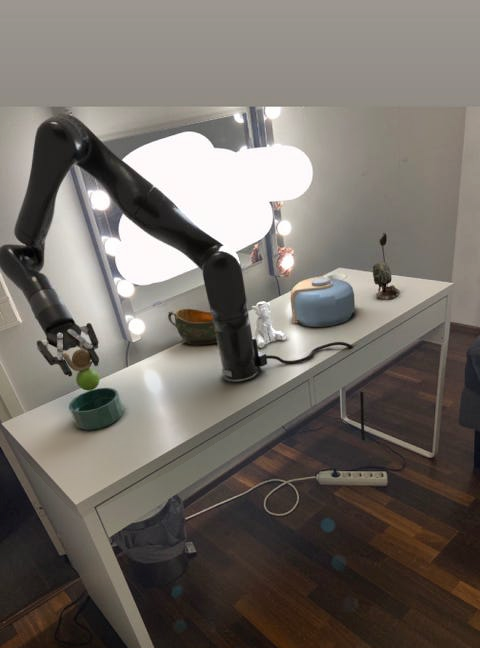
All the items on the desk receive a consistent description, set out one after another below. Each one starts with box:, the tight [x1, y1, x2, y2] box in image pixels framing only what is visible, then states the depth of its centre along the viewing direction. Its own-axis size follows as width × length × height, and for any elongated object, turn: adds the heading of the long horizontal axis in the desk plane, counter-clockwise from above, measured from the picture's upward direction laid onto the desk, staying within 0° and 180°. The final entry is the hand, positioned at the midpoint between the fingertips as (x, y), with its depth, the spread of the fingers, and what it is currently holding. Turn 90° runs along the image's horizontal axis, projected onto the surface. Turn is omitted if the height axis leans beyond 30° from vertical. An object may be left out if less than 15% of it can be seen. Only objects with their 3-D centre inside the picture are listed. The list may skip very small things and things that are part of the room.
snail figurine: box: [60, 348, 100, 391], centre depth 118 cm, size 5×6×12 cm
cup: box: [167, 308, 218, 346], centre depth 158 cm, size 13×20×10 cm, turn 41°
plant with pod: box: [371, 232, 400, 300], centre depth 161 cm, size 8×11×20 cm
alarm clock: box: [289, 275, 356, 328], centre depth 157 cm, size 19×20×12 cm
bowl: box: [68, 387, 124, 431], centre depth 124 cm, size 12×12×6 cm
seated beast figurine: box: [250, 301, 287, 349], centre depth 148 cm, size 10×9×12 cm
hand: (83, 369), depth 117 cm, fingers closed on snail figurine, 6 cm apart
